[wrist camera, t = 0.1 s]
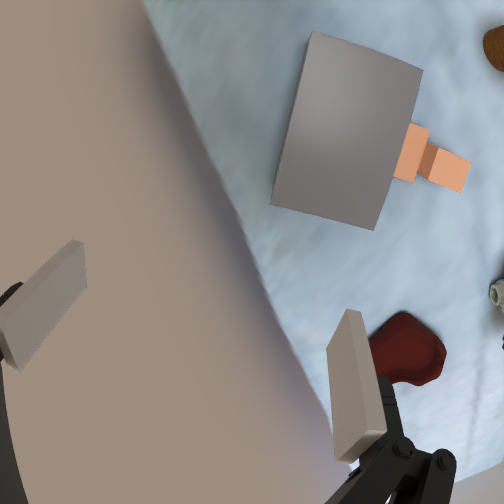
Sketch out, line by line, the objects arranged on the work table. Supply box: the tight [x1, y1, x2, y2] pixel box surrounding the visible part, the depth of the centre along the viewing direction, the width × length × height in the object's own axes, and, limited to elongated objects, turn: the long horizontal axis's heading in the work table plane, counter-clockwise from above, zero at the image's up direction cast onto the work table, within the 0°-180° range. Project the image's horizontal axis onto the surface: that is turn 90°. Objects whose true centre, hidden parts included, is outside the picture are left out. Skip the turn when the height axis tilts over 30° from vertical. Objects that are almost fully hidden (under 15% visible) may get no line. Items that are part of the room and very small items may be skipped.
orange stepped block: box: [393, 123, 471, 193], centre depth 32 cm, size 18×7×4 cm, turn 78°
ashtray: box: [369, 313, 447, 386], centre depth 49 cm, size 18×16×5 cm
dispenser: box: [270, 31, 423, 231], centre depth 33 cm, size 13×19×7 cm
